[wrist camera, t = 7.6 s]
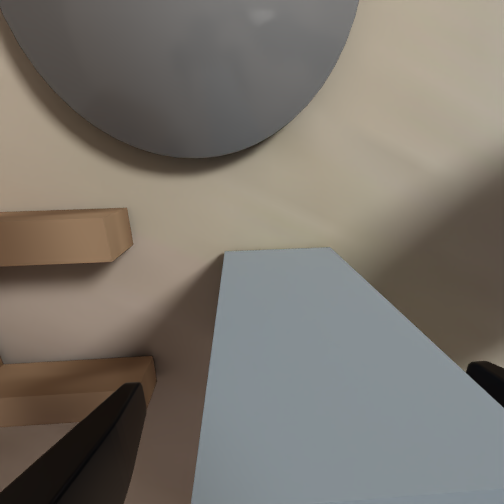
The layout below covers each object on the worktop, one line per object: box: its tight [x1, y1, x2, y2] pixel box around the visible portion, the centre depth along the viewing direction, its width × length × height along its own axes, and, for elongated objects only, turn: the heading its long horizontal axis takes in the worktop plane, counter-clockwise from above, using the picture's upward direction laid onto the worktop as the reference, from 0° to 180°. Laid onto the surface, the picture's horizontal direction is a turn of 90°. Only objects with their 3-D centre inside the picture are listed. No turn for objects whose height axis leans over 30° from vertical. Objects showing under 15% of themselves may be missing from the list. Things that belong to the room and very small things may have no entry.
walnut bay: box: [0, 208, 157, 427], centre depth 11 cm, size 8×8×2 cm
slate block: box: [191, 247, 504, 504], centre depth 8 cm, size 4×4×9 cm
